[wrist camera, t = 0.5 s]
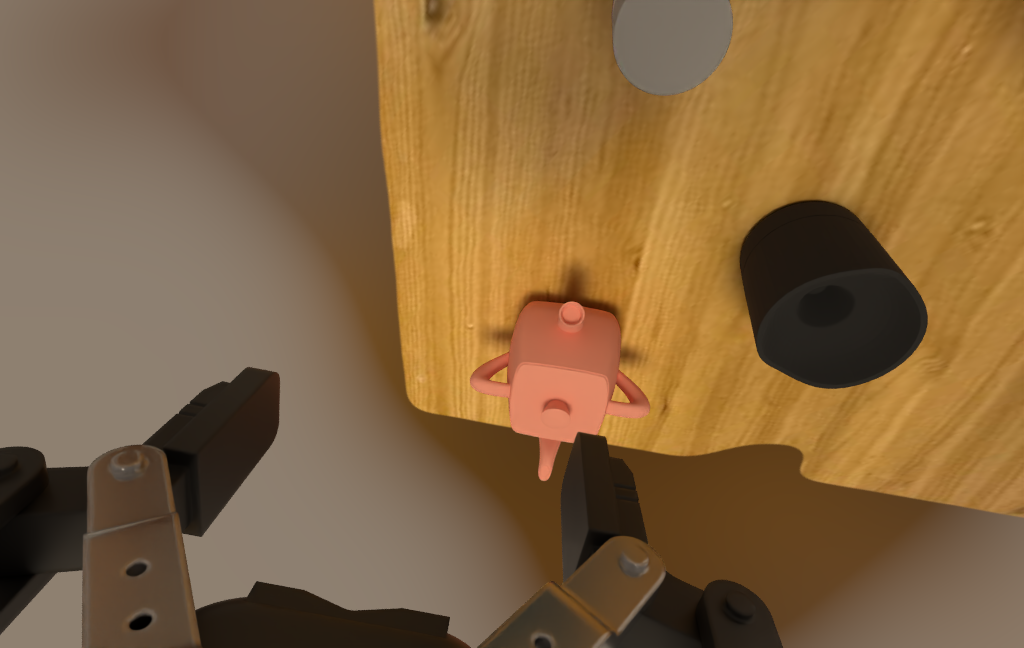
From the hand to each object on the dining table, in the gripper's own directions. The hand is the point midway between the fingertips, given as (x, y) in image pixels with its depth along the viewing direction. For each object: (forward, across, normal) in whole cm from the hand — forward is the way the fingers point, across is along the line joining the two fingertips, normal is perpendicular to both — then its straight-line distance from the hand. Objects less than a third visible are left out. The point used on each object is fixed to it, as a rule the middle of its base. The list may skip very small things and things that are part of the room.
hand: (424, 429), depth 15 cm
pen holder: (+30, -23, -1) cm, 37 cm away
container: (+26, -7, -16) cm, 31 cm away
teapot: (+34, -8, +12) cm, 37 cm away
